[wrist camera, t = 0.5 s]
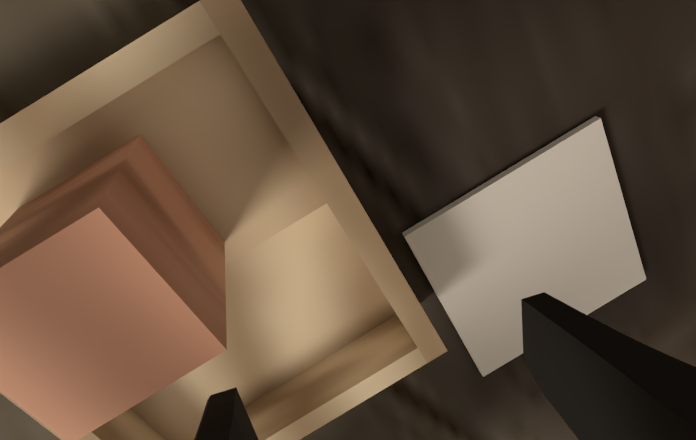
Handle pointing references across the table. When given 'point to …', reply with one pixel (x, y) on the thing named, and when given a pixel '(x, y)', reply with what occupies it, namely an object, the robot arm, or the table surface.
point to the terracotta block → (107, 292)
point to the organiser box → (238, 223)
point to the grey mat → (530, 243)
